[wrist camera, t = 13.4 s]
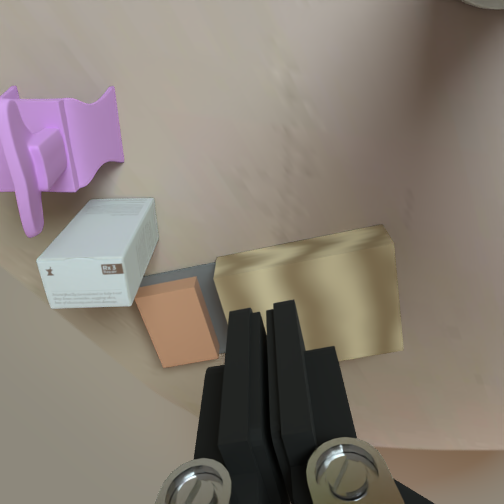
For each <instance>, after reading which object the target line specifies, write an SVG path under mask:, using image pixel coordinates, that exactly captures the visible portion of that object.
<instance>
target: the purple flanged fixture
mask: <svg viewBox="0 0 504 504" xmlns="http://www.w3.org/2000/svg"><path fill="white" fill-rule="evenodd" d="M109 161H114V162H124V155H123V148H122V140H121V133H120V125H119V118H118V110H117V103H116V96H115V89H114V86H110V87H109V88H108V89H107V90H106V92H105V93H104V94H103V95H102V96H101V98H99V99H98V100H97V101H96V102H94V103H92V104H87V103H84V102H81V101H79V100H76V99H72V98H61V99H19V95H18V90H17V87H16V86H11V87H10V88H9V89H8V90H7V91H6V92H5V93H3V94H2V95H1V96H0V192H15V195H16V200H17V204H18V209H19V214H20V218H21V222H22V225H23V228H24V231H25V234H26V235H27V237H29V238H31V237H34V236H36V235H38V234H39V233H41V231H42V229H43V226H44V218H43V210H42V200H41V191H42V192H76V191H77V190H78V189H79V188H82V187H85V186H87V185H88V184H89V183H90V182H91V180H92V179H93V177H94V175H95V174H96V172H97V171H98V169H99V168H100V167H101V166H102V165H103V164H104V163H106V162H109Z"/></svg>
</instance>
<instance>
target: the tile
mask: <svg viewBox="0 0 504 504" xmlns="http://www.w3.org/2000/svg"><path fill="white" fill-rule="evenodd" d="M134 299H135V302H136V304H137V306H138V309H139V311H140V314H141V316H142V318H143V321H144V323H145V325H146V328H147V330H148V333H149V335H150V337H151V340H152V342H153V344H154V347H155V349H156V352H157V354H158V356H159V359H160V361H161V363H162V366H163V368H166V367H172V366H178V365H184V364H189V363H195V362H201V361H207V360H212V359H218V357H219V348H220V345H219V342H218V339H217V336H216V333H215V330H214V327H213V324H212V321H211V318H210V315H209V312H208V309H207V306H206V303H205V300H204V297H203V294H202V291H201V288H200V285H199V282H198V279H197V276H195V277H190V278H185V279H180V280H175V281H170V282H164V283H159V284H154V285H149V286H144V287H139V289H138V291H137V294H136V296H135V298H134Z"/></svg>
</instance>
